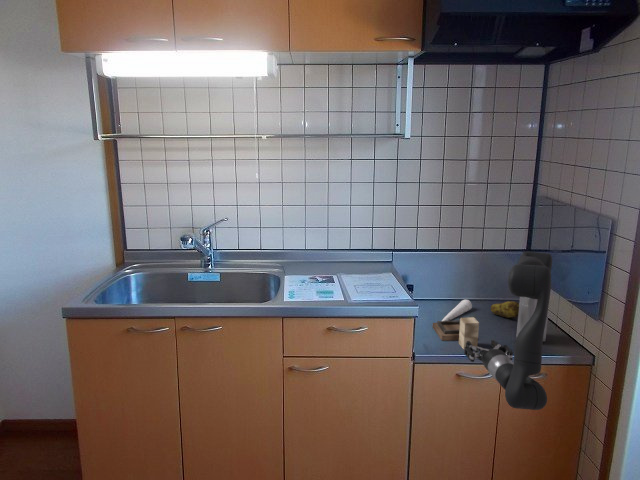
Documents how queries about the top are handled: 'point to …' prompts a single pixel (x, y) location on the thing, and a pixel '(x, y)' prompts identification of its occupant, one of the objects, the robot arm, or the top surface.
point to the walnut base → (447, 330)
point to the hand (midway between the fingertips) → (479, 343)
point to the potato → (506, 309)
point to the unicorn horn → (459, 310)
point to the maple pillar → (468, 331)
